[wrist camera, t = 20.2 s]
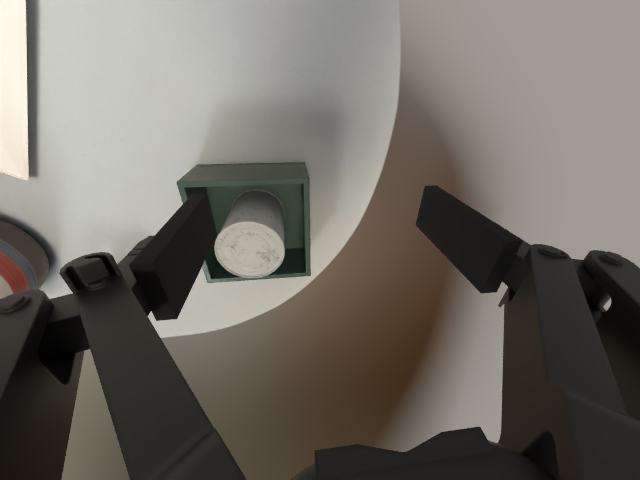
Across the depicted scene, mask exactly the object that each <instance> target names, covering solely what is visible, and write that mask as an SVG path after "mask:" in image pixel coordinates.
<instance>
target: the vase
mask: <svg viewBox="0 0 640 480" xmlns="http://www.w3.org/2000/svg"><path fill="white" fill-rule="evenodd" d="M48 271H49V261H48V257H47V255H46V253H45V251H44V250H43V248H42V247H41V246H40V245H39V243H38V242H37V241H36V240H35V239H33V238H32V237H31V236H30V235H28V234H27V233H26V232H24V231H22V230H21V229H19V228H17V227H15V226H14V225H11V224H9V223H7V222H5V221H2V220H0V299H2V298H5V297H6V296H8V295H11V294H16V293H19V292H22V291H27V290H38V289H39V288H40V287H41V285H42V284H43V283H44V281H45V279H46V277H47V275H48Z"/></svg>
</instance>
